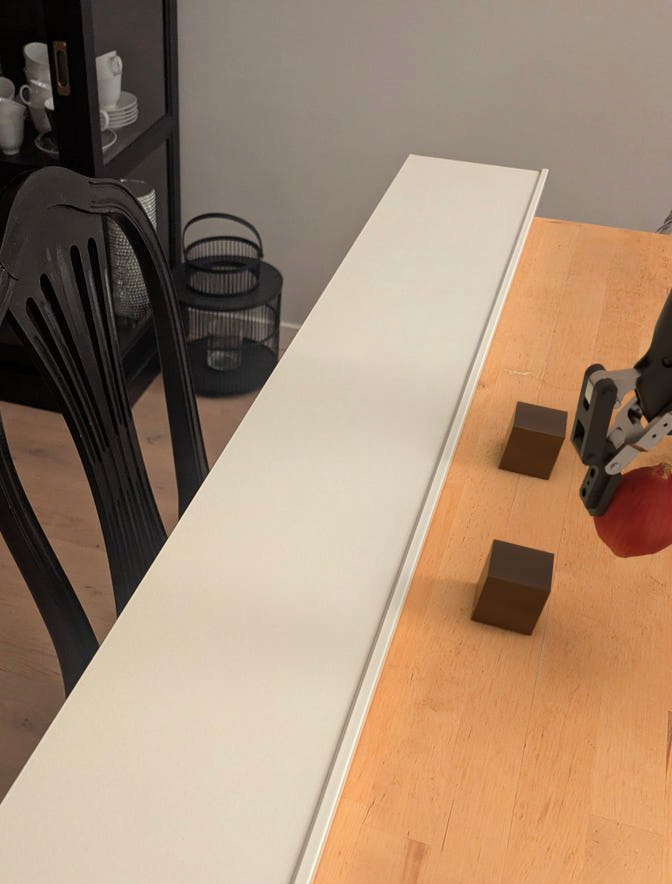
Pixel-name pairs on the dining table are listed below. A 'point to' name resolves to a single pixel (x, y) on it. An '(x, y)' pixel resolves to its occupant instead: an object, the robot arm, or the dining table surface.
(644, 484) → the onion
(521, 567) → the walnut block near
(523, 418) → the walnut block far
